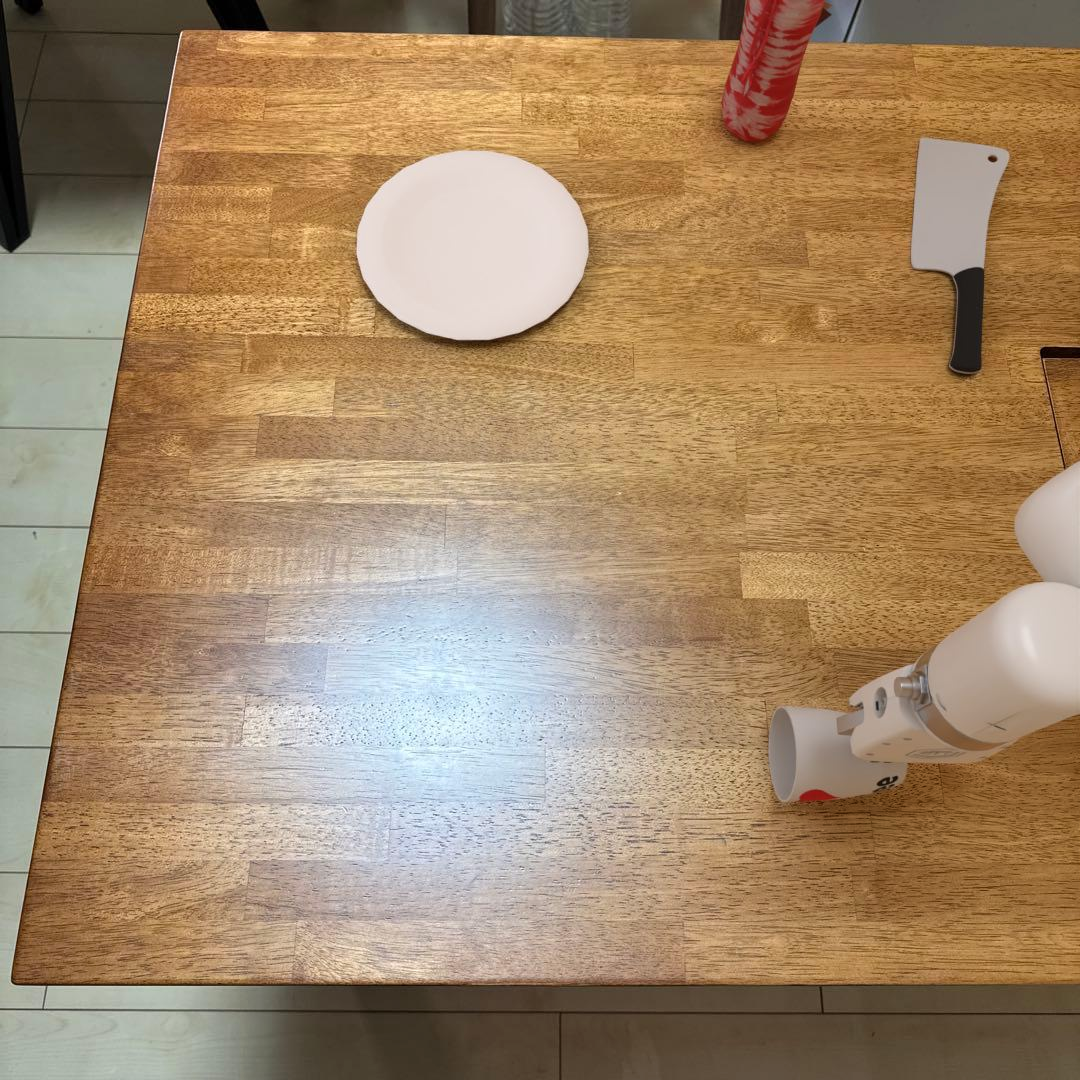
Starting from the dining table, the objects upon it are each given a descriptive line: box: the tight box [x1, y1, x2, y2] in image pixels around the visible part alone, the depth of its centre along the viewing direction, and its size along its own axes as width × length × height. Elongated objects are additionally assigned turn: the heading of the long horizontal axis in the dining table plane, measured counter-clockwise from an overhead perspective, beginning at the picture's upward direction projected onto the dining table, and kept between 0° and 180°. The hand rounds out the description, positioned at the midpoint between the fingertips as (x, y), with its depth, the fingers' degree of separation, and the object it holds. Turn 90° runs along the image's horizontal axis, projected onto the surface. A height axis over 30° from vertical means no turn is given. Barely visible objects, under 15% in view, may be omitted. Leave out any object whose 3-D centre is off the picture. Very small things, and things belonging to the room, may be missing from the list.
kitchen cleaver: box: [910, 137, 1011, 377], centre depth 112 cm, size 31×2×10 cm
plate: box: [355, 150, 590, 342], centre depth 110 cm, size 25×25×2 cm
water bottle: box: [720, 0, 833, 143], centre depth 107 cm, size 12×8×25 cm, turn 140°
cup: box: [767, 705, 909, 803], centre depth 88 cm, size 8×8×10 cm
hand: (877, 743), depth 84 cm, fingers closed
